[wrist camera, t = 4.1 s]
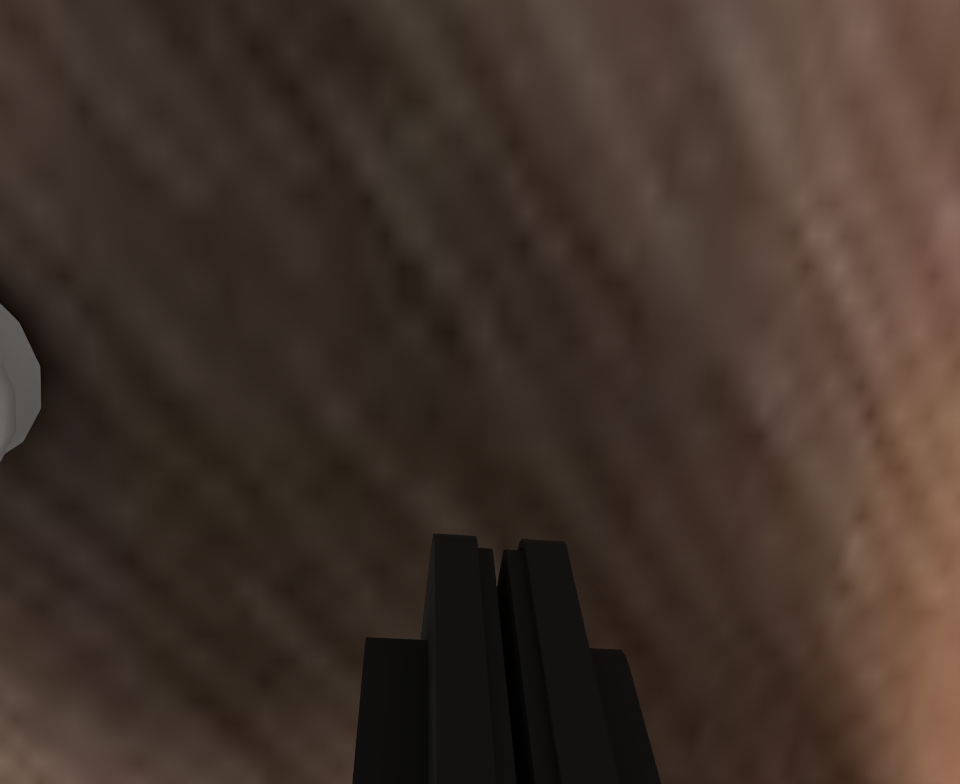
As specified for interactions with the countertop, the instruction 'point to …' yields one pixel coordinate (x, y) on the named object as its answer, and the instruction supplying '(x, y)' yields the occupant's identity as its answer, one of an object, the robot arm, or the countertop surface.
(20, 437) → the rook chess piece
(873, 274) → the countertop surface
